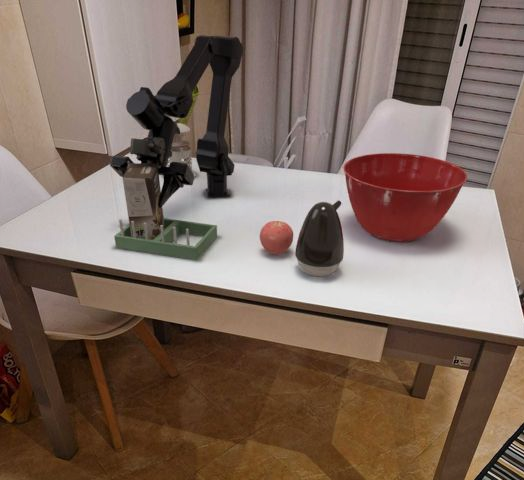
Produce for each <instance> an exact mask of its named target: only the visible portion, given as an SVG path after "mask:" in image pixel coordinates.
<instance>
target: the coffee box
mask: <svg viewBox="0 0 524 480" xmlns="http://www.w3.org/2000/svg"><path fill="white" fill-rule="evenodd" d="M160 182H161V181H160V175H159V171H158V164H156V163H141V162H139V163H138V162H137V163H135V162H133V163H131V164H130V165H129V167H128V169H127V171H126V172H125V174H124V176H123V177H122V183H123V190H124V197H125V203H126V210H127V211H126V212H127V217H128V221H129V222H128V225H129V224H130V230H131V237H133V231H132V224H131V221H134V225H135V232H136V238H141V239H146V238H145V231H144V223H146V225H147V232H148V240H154V239H155V238H156V237H157V236H158V235H159V234H160V233H161V228H160V225H163V230H164V229H165V226H164V218H165V217H164V208H163V206H162V207H161V208H159V207H158V202H159V197H160V193H161V190H162V189H161V183H160Z"/></svg>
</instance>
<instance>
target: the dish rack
mask: <svg viewBox="0 0 524 480" xmlns="http://www.w3.org/2000/svg"><path fill="white" fill-rule="evenodd" d="M118 223H119V230H120V231H119V232H117V233H115V235H114V236H113V238H114V243H115V249H119V250H120V249H121V250H127V251H134V252H141V253H148V254H153V255H160V256H165V257H173V258H181V259H186V260H192V261H198V260H199V259H200V258H202V256H203V255H204V253H205V252H206V251H207V250H208V249H209V248H210V246H211V245H212V244H213V243H214V242H215V240H216V239H217V238H218V225H217V224H209V223H204V222H203V223H202V222H195V221H187V220H182V219H181V220H180V219H172V218H165V217H164V226H165V229H164V230H163V225H160V228H161V233H160V234H159V235H158V236H157V237H156V238H155V239H154V240H148V232H147V225H146V223H144V231H145V238H146V239H141V238H136V232H135V225H134V221H131V224H132V231H133V237H131V230H130V224H129V223H128V224H127V225H126V226H123V219H121V218H119V219H118ZM180 234H184V235H185V236H186V237H185V239H186V244H180V243H178V238H177V237H178V236H179V235H180ZM190 235H192V236H199V237H201V238H200V239H199V241H198V242H197V243H196V244H195V245H191V243H190Z"/></svg>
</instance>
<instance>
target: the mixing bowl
mask: <svg viewBox="0 0 524 480" xmlns="http://www.w3.org/2000/svg"><path fill="white" fill-rule="evenodd" d="M343 172H344V176H345V184H346V191H347V194H348V200H349V203H350V206H351V208H352V211H353V214H354V216H355V218H356V221H357V222H358V225H359V226H360V227H361V228H362V229H363V230H365V232H367V233H368V234H369V235H371V236H372V237H374V238H377V239H379V240H382V241H386V242H390V243H391V242H393V243H408V242H412V241H416V240H418V239H420V238H422V237H424V236H426V235H428V234H429V233H431V231H433V230H434V229H435V228H436V227H437V225H439V224H440V223H441V221H442V220H443V219H444V217H445V216H446V214H447V213H448V212H449V211H450V209H451V207H452V206H453V204H454V203H455V201H456V199H457V197H458V195H459V193H460V191H461V190H462V188H463V186H464V184H465V183H466V182H467V180H468V174H467V173H466V171H465V170H464V169H463V168H461V167H460V166H458V165H456V164H455V163H452V162H449V161H446V160H444V159H439V158H437V157H433V156H432V157H431V156H426V155H420V154H414V153H413V154H412V153H399V152H383V153H381V152H380V153H370V154H364V155H359V156H356V157H353V158H350V159H348V160H347V161H346V162H345V163H344V165H343Z"/></svg>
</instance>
